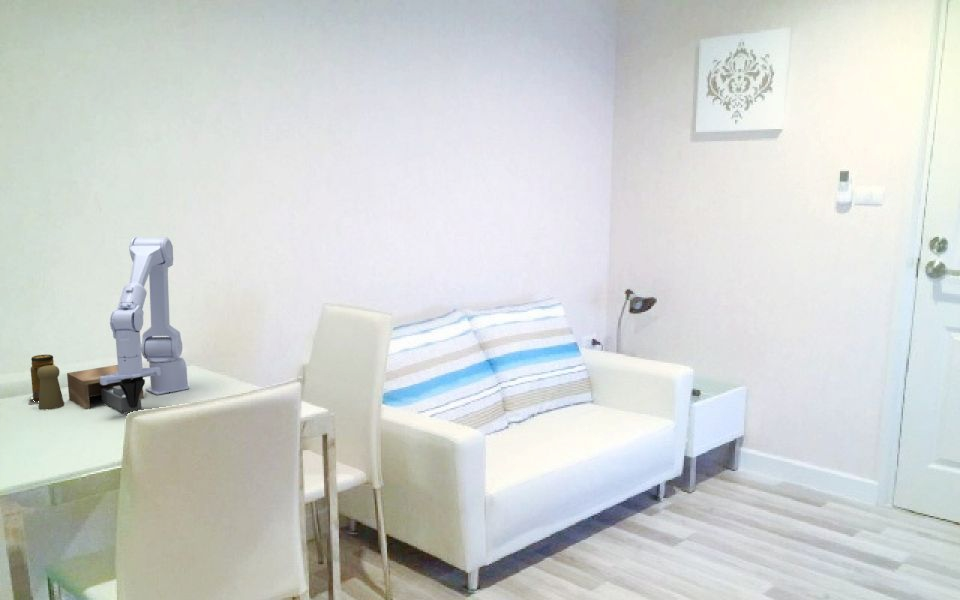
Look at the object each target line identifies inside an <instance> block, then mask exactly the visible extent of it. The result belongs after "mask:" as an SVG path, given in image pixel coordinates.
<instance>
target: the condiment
mask: <svg viewBox="0 0 960 600" xmlns="http://www.w3.org/2000/svg"><path fill="white" fill-rule="evenodd" d="M48 365H53V366H56V365H55V363H54V356H53V355H52V354H38V355H33V356H32V357H31V367H30V376H31V377H30V378H31V379H30V380H31V389H32V396H30V399H29V401H28V404H29V405H30V404H32V405H34V404H39V403H38V401H39V392H40V379H39V378H38V375H37V371H38V369H39V368H40V367H43V366H48ZM31 397H33V399H31ZM33 400H34V401H35V402H34V401H33Z"/></svg>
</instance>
